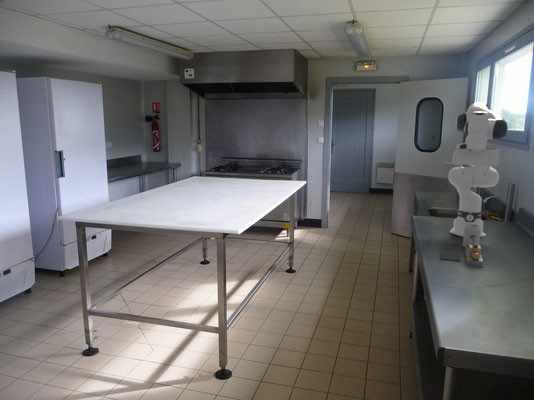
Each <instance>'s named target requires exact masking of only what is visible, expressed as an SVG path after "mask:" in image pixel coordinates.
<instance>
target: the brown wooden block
mask: <svg viewBox="0 0 534 400" xmlns="http://www.w3.org/2000/svg"><path fill="white" fill-rule="evenodd" d="M481 250H482V248H481V245H480V244H479V245H478V248H474V246H473V245H470V244H469V256H472V255H473V253H479V254H481V255H482V251H481ZM479 257H480V256H479Z"/></svg>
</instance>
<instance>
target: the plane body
mask: <svg viewBox="0 0 534 400" xmlns="http://www.w3.org/2000/svg"><path fill="white" fill-rule="evenodd" d="M471 245H473V242H472V239H471ZM464 248H465V249H464V253H465V259H466V264H467V267H471V266H472V267H473V268H479V269H480V268H481V269H483V268H484V260H483V257H482V253H481V254H479V253H473V255H472V256H469V246H465V247H464ZM479 256H480V257H479Z"/></svg>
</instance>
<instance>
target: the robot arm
mask: <svg viewBox="0 0 534 400" xmlns="http://www.w3.org/2000/svg"><path fill="white" fill-rule="evenodd" d="M454 124H455V128H456V131H458V132H460V133H463V132H464V135H465V136H466V137H465V141H464V142H462V143H458V144H456V145H455V148H456V149H455V150H454V152H453V155H452V159H451V163H452V164H453V165H459V166H457V167H452V168H451V169H450V170H449V172H448V175H447V180H448V182H449V183H450V184H451V185H452V186H454V188H456V190H457V192H458V194H459V195H458V196H459V209H458V211H457V217H456V218H455V219H454V220H453V227H452V228H451V230H449V234H450V233H451V234H453V235H457V236H459V237H464V227H466V225H467V224H474V225H478V226H480V227H479V228H480V229H481V231H480V238H483V237H487V234H486V233H485V232H484V231H483V230H484V220H482V219H481V218H482V202H483V198H482V197H481V196H480V195H479V194H478V193H476V192H474V191H472V189H471V188H472V187H474V188H476V187H477V188H491V187H492V188H493V187H495V186H496V185H497V184H498V183H499V181H500V174H499V171H497V169H495V168H494V167H498V165H499V163H500V157H499V156H500V155H501V148H500V147H498V146H497V145H496V146H495V145H494V146H492V145H491V146H490V145H488V140H497V141H500V140H502V139H504V138H505V137H506V135H507V133H508V129H509V127H508V126H509V125H508V123H507V121H506V120H505V119H504V118H501V116H500V115H499V114H498V113H496V112H493V111H491V110H489V108H488V107H487V105H486V104H485V103H483V102H480V101H478V102H477V101H476V102H474V103H471V105H469V107H468V108H467V110H466V112H464V111H463V112H462V113H460V114H459V115H457V117H456V119H455V123H454Z"/></svg>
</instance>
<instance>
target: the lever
mask: <svg viewBox="0 0 534 400" xmlns="http://www.w3.org/2000/svg"><path fill="white" fill-rule="evenodd" d="M470 238H471V239H472V242H473V246H474V248H478V244H477V240H476V236H475V235H471V237H470Z"/></svg>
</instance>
